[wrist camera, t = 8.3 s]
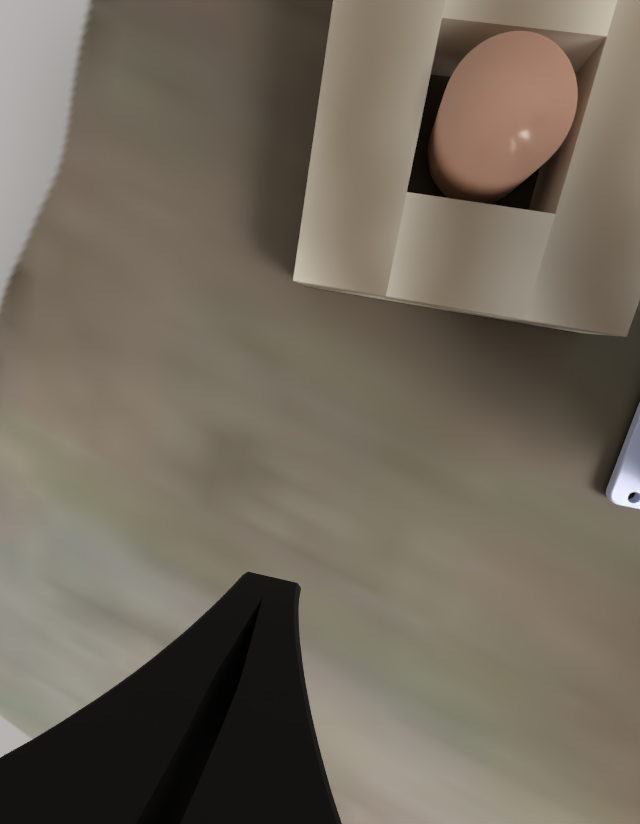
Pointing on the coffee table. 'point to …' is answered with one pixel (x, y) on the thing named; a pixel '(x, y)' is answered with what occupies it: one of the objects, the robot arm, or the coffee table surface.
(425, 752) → the coffee table surface
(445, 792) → the coffee table surface
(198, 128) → the coffee table surface
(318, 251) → the button panel
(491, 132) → the terracotta button
